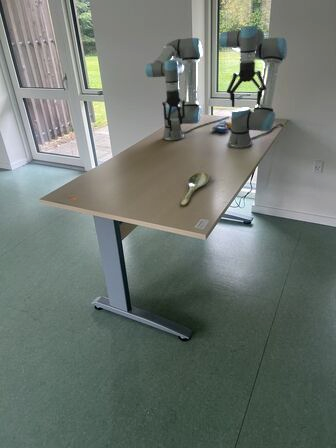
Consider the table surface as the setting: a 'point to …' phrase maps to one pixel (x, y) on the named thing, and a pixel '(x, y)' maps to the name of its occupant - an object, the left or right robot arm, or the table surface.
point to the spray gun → (222, 126)
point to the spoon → (195, 184)
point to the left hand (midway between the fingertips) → (175, 130)
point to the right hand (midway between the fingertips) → (245, 105)
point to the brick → (175, 126)
